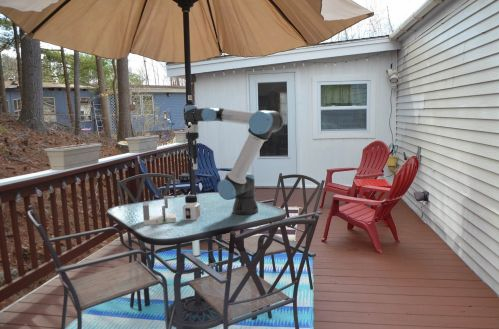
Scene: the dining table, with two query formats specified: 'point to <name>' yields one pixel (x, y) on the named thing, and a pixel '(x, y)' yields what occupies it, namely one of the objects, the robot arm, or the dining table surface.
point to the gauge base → (156, 216)
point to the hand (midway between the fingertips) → (193, 168)
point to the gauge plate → (164, 206)
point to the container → (191, 208)
